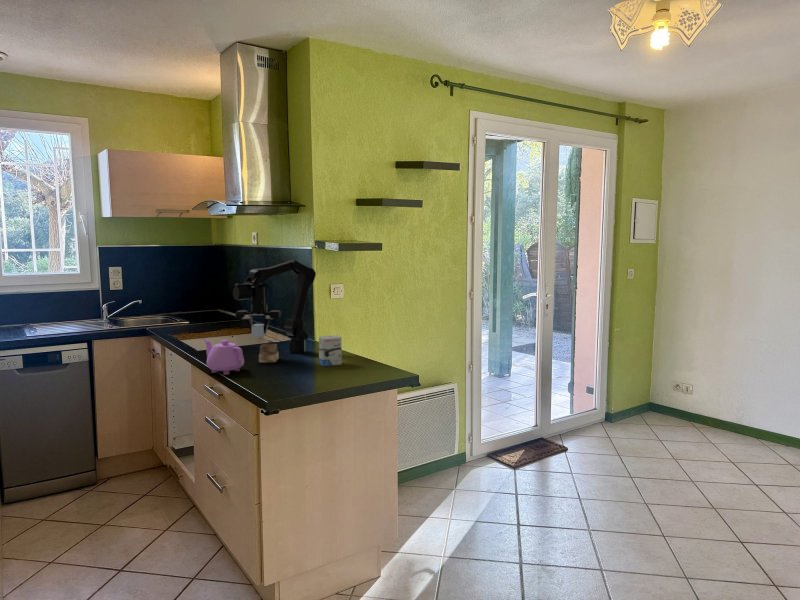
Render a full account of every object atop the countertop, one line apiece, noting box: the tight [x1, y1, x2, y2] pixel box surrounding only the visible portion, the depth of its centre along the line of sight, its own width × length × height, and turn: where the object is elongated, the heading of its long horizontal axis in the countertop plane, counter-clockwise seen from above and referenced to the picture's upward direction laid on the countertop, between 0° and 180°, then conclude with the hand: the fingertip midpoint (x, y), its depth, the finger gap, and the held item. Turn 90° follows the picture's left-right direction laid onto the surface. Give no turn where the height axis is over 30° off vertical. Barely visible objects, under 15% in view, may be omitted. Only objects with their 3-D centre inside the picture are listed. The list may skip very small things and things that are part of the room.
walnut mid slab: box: [259, 343, 278, 355], centre depth 239 cm, size 6×6×4 cm
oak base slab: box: [258, 350, 279, 363], centre depth 240 cm, size 7×7×4 cm
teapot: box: [203, 338, 245, 376], centre depth 220 cm, size 20×14×12 cm
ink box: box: [318, 334, 343, 367], centre depth 233 cm, size 8×5×12 cm, turn 118°
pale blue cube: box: [251, 323, 267, 338], centre depth 243 cm, size 5×5×5 cm
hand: (259, 333), depth 243 cm, fingers closed on pale blue cube, 5 cm apart
